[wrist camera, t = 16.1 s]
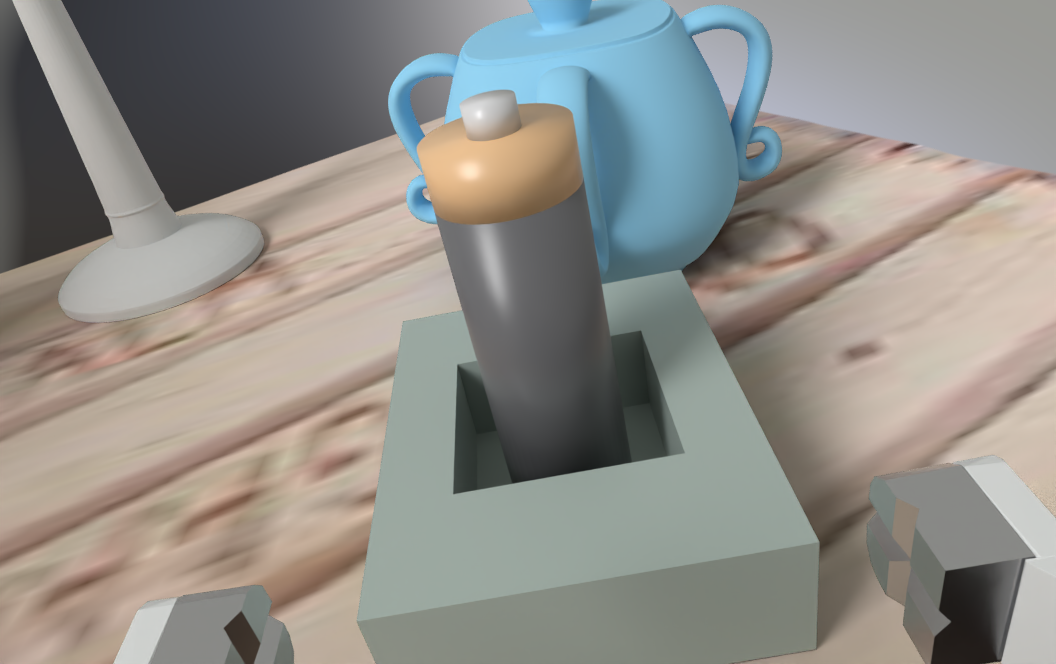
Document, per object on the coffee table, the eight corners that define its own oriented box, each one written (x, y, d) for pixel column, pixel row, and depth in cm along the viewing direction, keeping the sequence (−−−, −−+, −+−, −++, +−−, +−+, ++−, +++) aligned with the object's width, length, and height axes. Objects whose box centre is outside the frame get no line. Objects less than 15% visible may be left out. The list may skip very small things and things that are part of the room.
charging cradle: (401, 718, 20) (356, 621, 18) (427, 401, 32) (402, 321, 30) (816, 649, 20) (819, 542, 18) (687, 354, 32) (680, 269, 30)
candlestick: (271, 211, 56) (71, -312, 40) (253, 288, 45) (-30, -387, 30) (94, 254, 55) (-181, -265, 39) (32, 344, 44) (-383, -325, 28)
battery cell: (516, 534, 24) (399, 142, 17) (513, 450, 27) (414, 94, 21) (643, 512, 24) (575, 104, 17) (624, 429, 27) (560, 62, 20)
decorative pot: (403, 260, 45) (329, 17, 38) (615, 166, 51) (586, -57, 44) (565, 370, 33) (501, 40, 26) (819, 229, 39) (824, -68, 32)
